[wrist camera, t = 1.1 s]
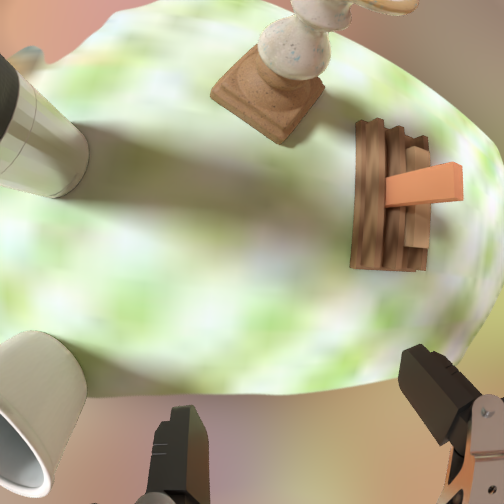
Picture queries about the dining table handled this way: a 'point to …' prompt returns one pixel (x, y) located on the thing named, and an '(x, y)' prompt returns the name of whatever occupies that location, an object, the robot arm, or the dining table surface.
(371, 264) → the rack
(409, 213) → the offcut block
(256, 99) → the candle holder
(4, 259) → the dining table surface
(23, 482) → the utensil holder
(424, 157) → the offcut block
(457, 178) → the slat
